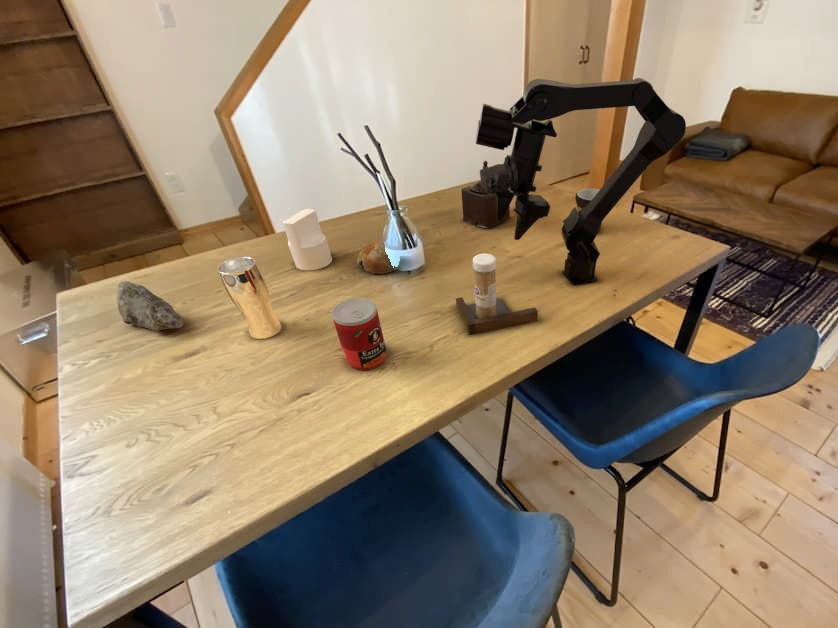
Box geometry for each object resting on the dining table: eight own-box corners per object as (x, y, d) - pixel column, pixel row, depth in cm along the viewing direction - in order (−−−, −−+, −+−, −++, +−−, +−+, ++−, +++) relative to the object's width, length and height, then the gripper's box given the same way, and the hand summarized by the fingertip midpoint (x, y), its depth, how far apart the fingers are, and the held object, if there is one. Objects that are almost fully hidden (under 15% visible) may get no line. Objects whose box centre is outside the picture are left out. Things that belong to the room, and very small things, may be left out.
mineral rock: (188, 334, 90) (162, 291, 83) (126, 352, 86) (94, 309, 79) (183, 305, 98) (159, 264, 91) (127, 320, 94) (97, 278, 87)
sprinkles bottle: (471, 316, 93) (467, 258, 84) (485, 307, 96) (483, 250, 87) (487, 324, 91) (484, 266, 82) (501, 315, 93) (500, 257, 84)
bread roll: (387, 289, 109) (395, 264, 103) (349, 270, 107) (355, 243, 102) (402, 270, 116) (410, 245, 111) (366, 251, 114) (372, 226, 109)
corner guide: (520, 295, 100) (520, 286, 98) (537, 320, 92) (538, 311, 90) (456, 308, 96) (455, 298, 94) (469, 335, 89) (468, 325, 87)
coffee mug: (605, 236, 122) (611, 200, 115) (575, 236, 122) (579, 200, 116) (599, 219, 131) (604, 184, 124) (570, 219, 131) (574, 185, 124)
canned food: (368, 376, 80) (353, 327, 72) (337, 361, 83) (320, 313, 75) (396, 353, 84) (385, 305, 77) (366, 340, 88) (353, 293, 80)
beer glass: (249, 344, 87) (215, 277, 77) (246, 326, 92) (214, 261, 82) (286, 334, 89) (258, 268, 79) (281, 317, 94) (254, 252, 84)
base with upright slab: (318, 272, 108) (302, 225, 100) (288, 267, 110) (270, 221, 102) (339, 256, 115) (326, 211, 106) (310, 251, 117) (295, 207, 109)
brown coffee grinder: (460, 221, 130) (455, 156, 118) (484, 210, 137) (482, 147, 125) (500, 235, 123) (499, 168, 111) (524, 222, 129) (525, 157, 117)
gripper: (471, 135, 89) (459, 209, 99) (510, 169, 77) (491, 250, 87) (518, 141, 94) (502, 211, 104) (561, 174, 82) (538, 250, 92)
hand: (507, 229), depth 97 cm, fingers open, 9 cm apart
